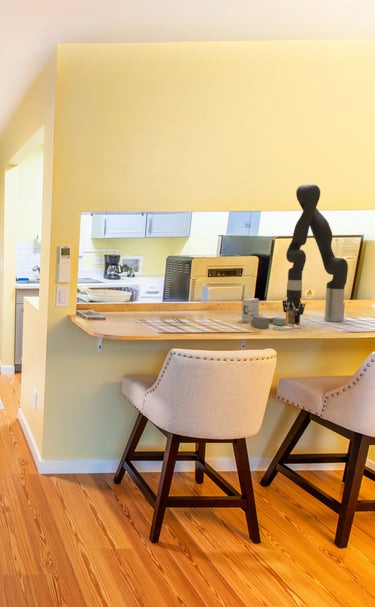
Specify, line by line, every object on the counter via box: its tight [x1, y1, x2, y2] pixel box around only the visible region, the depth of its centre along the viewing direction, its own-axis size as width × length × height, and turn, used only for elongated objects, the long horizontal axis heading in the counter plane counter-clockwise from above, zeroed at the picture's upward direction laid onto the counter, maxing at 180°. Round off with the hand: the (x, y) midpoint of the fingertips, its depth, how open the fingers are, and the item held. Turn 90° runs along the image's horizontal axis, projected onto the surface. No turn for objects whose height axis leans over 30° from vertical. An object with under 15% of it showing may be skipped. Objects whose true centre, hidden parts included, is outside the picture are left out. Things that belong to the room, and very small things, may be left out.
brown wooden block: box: [285, 309, 301, 325], centre depth 295 cm, size 5×5×7 cm
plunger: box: [272, 312, 294, 326], centre depth 287 cm, size 4×14×7 cm, turn 36°
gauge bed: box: [250, 315, 303, 332], centre depth 285 cm, size 18×18×5 cm
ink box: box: [241, 297, 260, 324], centre depth 298 cm, size 9×5×12 cm, turn 141°
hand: (292, 321), depth 295 cm, fingers closed on brown wooden block, 5 cm apart
